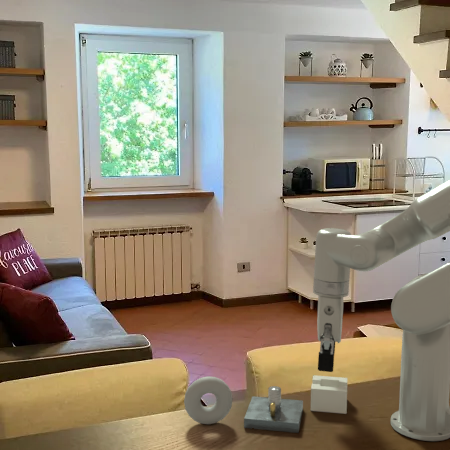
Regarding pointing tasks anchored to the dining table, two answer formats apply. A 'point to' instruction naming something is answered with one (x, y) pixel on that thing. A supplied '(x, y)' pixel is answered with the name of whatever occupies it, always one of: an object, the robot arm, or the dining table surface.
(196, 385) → the donut
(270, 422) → the post base
